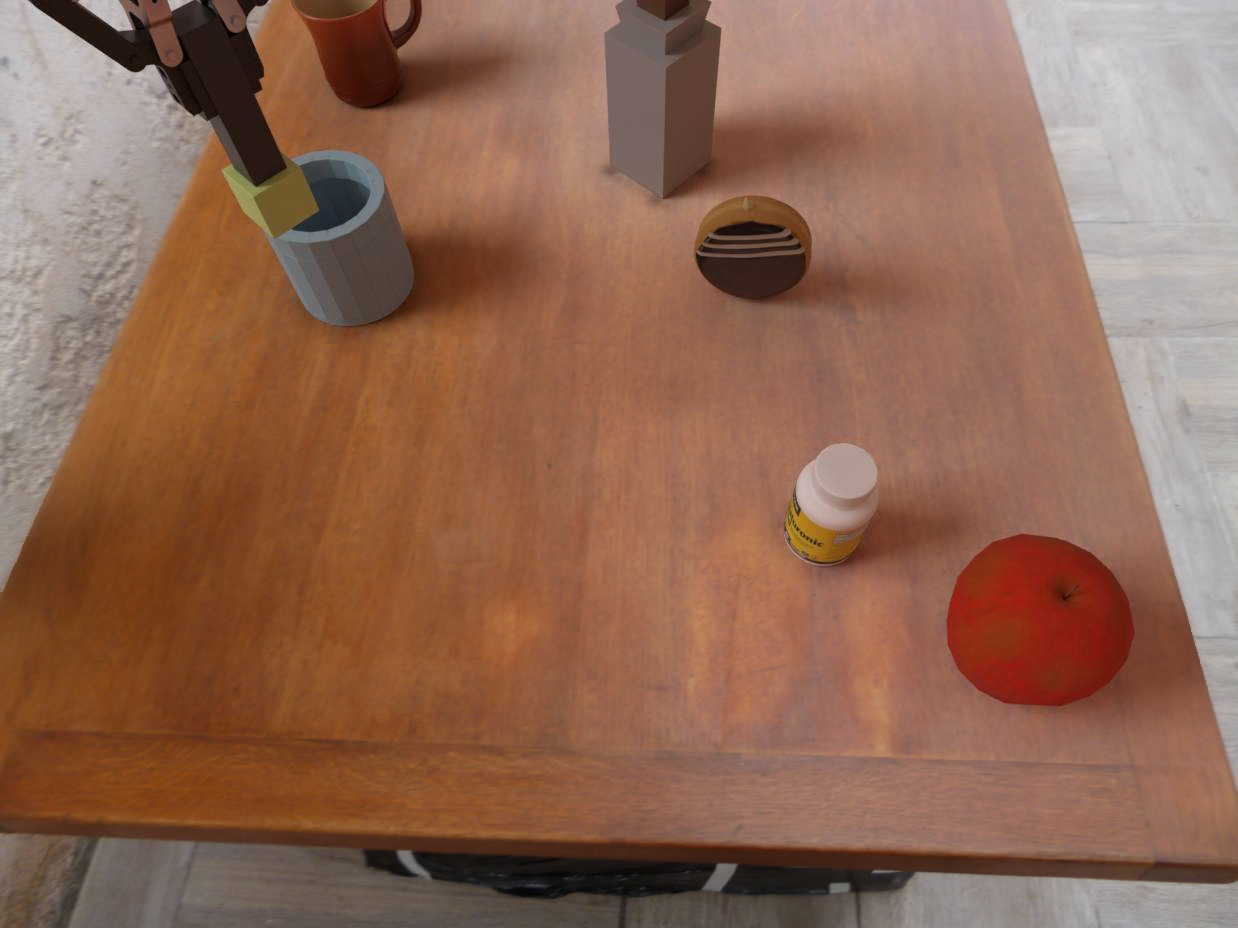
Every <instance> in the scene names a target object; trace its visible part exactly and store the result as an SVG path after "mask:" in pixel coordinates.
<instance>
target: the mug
mask: <svg viewBox="0 0 1238 928" xmlns="http://www.w3.org/2000/svg"><path fill="white" fill-rule="evenodd" d="M387 1H388V0H290V4H291V6H292V8H293V10H294V12H295V13H296V14H297V16H298V17H299V18H300V20H301V21H302V23H303V24H304V26H305V27H306V28H307V30H308V31H309V33H310V35H311V38H312V40H313V43H314V46H315V49H316V52H317V57H318V59H319V62H320V65H321V68H322V70H323V73H324V77H325V80H326V81H327V83H328V85H329V87H330V89H331V90H332V91H333V93H334V95H335V96H336V98H337V99H339V100H340V101H341V102H343V103H345V104H347V105H350V106H355V107H361V108H363V107H364V108H365V107H372V106H377V105H380V104H382V103H384V102H386V101H388V100H389V99H391V97H393V96H394V95H395V94H396V92H397V91H398V90H399V89H400V86H401V83H402V67H401V59H400V57H399V55H398V50H399V49H400V48H402V47H403V46H405V45H406V44H407V43H408V42H409V41H410V39H411V38H412V37H413V36H414V34H415V33H416V32H417V30H418V29H419V26H420V23H421V20H422V14H423V0H409V13H408V16H407V18H406V20H405V22H404V23H403V24H402V25H401V26H399V27H398V28H396V29H393V30H391V29H390V26H389V21H388V16H387Z"/></svg>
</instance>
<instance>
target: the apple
mask: <svg viewBox="0 0 1238 928" xmlns="http://www.w3.org/2000/svg"><path fill="white" fill-rule="evenodd" d="M1135 633H1136V631H1135V625H1134V620H1133V615H1132V610H1131V606H1130V601H1129V598H1128V595H1127V593H1126V591H1125V589H1124V588H1123V586H1122V585H1121V583H1120V582H1119V581H1118V579H1117V577H1116V576H1115V574H1114V572H1113V571H1112V570H1111V569H1110V568H1109V567H1108V566H1107V565H1106V564H1104V563H1103V562H1102V561H1101V560H1100V559H1099V558H1098V557H1097V556H1096V555H1094V554H1093V553H1092V552H1091V551H1089V550H1087V549H1085V548H1082V547H1081V546H1079V545H1077V544H1074V543H1072V542H1070V541H1068V540H1065V539H1061V538H1058V537H1054V536H1046V535H1038V534H1029V533H1019V534H1015V535H1012V536H1008V537H1005V538H1001V539H997V540H994V541H992V542H991V543H990V544H988V545H987V546H986V547H984V548H983V549H982V550H980V551H979V552H978V553H977V554H976V555H975V556H973V558H972V559H971V560H970V561H969V563H968V564H966V566H965V567H964V569H963V570H962V571H961V572H960V573H959V574H958V575H957V578H956V581H955V584H954V587H953V591H952V594H951V597H950V601H949V605H948V611H947V617H946V635H947V636H946V637H947V638H946V639H947V646H948V649H949V651H950V654H951V656H952V658H953V661H954V663H955V666H956V668H957V670H958V671H959V673H960V674H962V675H963V676H964V678H966V679H967V680H968V681H969V682H970V683H971V684H972V685H973V687H975V689H976V690H977V691H978V692H981V693H983V694H985V695H987V696H989V697H991V698H993V699H995V700H997V701H999V702H1001V703H1002V704H1005V705H1006V704H1009V705H1023V706H1042V707H1044V706H1045V707H1062V706H1066V705H1068V704H1071V703H1074V702H1077V701H1080V700H1082V699H1086V698H1088V697H1091V696H1093V694H1095V693H1097V692H1098V691H1100V690H1101V689H1103V688H1104V687H1105V686H1107V685H1108V684H1110V683H1111V682H1112V680H1113V679H1114V678H1115V677H1116V675H1117V674H1118V673H1119V671H1120V670H1121V669H1122V668H1123V666H1124V665H1125V664H1126V662H1127V661H1128V659H1129V656H1130V652H1131V648H1132V644H1133V642H1134V638H1135Z"/></svg>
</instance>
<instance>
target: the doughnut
mask: <svg viewBox="0 0 1238 928" xmlns="http://www.w3.org/2000/svg"><path fill="white" fill-rule="evenodd" d="M812 239H813V238H812V234H811V229H810V227H809V225H808V223H807V221H806V220H805V218H804V217H803V215H801V214H800V212H799V211H797V210H796V209H795V208H793V207H792V206H791V205H789V204H788V203H786V202H783V201H781V200H779V199H776V198H773V197H769V196H764V195H741V196H736V197H732V198H729V199H726V200H724V201H722V202H721V203H718V204H717V205H716V206H714V207H713V208H712V209H711V210H710V211H708V213H706V215H705V216H704V217H703V219H702V220H701V222H700V224H699V227H698V231H697V235H696V238H695V241H694V246H693V258H694V262H695V265H696V267H697V269H698V271H699V273H700V274H701V276H702V277H703V278H704V279H705V280H706V281H707V282H708V283H709V284H710V285H712V286H713V287H714V288H716V289H718V290H720V291H721V292H723V293H725V294H728V295H731V296H734V297H737V298H742V299H754V300H756V299H757V300H758V299H767V298H768V299H769V298H772V297H777V296H779V295H783V294H784V293H787V292H788V291H790V290H792V289H793V288H795V287H796V286H797V285H798V284H800V283H801V282H802V280H803V279H804V278H805V276H806V275H807V273H808V272H809V269H810V266H811V261H812V247H813V240H812Z"/></svg>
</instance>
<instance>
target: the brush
mask: <svg viewBox="0 0 1238 928" xmlns="http://www.w3.org/2000/svg"><path fill="white" fill-rule="evenodd" d="M171 12H172V15H173V19H171V22H172V25H173V27H174V30H175V33H176V36H177V38H178V41H179V44H180V46H181V49H182V52H183V54H184V55H185V56H187V57H188V58H189V59H190V60H191V62H192V64H193V66H194V68H195V70H196V72H197V74H198V76H199V78H200V80H201V81H202V83H203V85H204V87H205V89H206V91H207V93H208V95H209V97H210V99H211V101H212V103H213V105H214V107H215V109H216V111H217V114H218V116H216V117H214V118H212V119H210V120H209V121H208V122H209V123H210V125H211V127H212V129H213V130H214V131H213V132H214V133H215V135H216V136H217V138H218V140H219V143H220V144H221V146H222V148H223V151H224V152H225V154H226V156H227V158H228V159H229V162H230V164H229V165H227V166H225V167H224V168H222V169H221V173H222V175H223V176H224V178H225V180H226V182H227V184H228V186H229V187H230V189H231V191H232V193H233V194H234V195H233V196H235V199H236V200H237V202H238V205H239V206H240V209H241V210H242V212H243V213H244V214H245V215H246V216H248V218H250V220H252V221H253V222H254V223H255V224H256V225H257V226H259V227H260V228H261V229H262V231H263V230H265V231H266V232H267V233H268V234H269V235H270V236H271V237H272V238H274V239H276V238H278V237H279V236H281V235H282V234H284V233H285V232H287V231H288V230H290V229H291V228H293V227H295V226H296V225H298V224H299V223H301V222H302V221H304V220H305V219H307V218H309V217H310V216H312V215H313V214H315V213H316V212H318V211H319V208H318V206H317V204H316V201H315V199H314V197H313V194H312V192H311V190H310V187H309V185H308V183H307V180H306V178H305V176H304V174H303V171H302V169H301V167H299V166H298V165H297V164H296V163H294V162H293V161H292V160H291V159H292V158H290V157H289V156H287V155H286V154H285V153H284V152H282V151H281V150H280V148H279V146H278V144H277V142H276V139H275V137H274V135H273V133H272V129H271V128H270V126H269V124H268V122H267V119H266V117H265V115H264V112H263V110H262V108H261V106H260V104H259V102H258V99H257V96H256V94H254V93H253V90H252V88H251V86H250V84H249V81H248V79H247V77H246V75H245V73H244V70H243V68H242V66H241V64H240V61H239V59H238V57H237V55H236V53H235V50H234V48H233V46H232V44H231V41H230V39H229V37H228V35H227V33H226V30H225V28H224V26H223V24H222V21H221V19H220V17H219V16H217V15H216V14H215V13H213V12H212V11H211V10H209V9H208V8H207V7H205V6H204V5H203V4H201V3H200V2H199V1H198V0H191V1H189V2H187V3H184V4H183V5H181V6H178V7H177V8H175V9H173V10H171Z"/></svg>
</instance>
